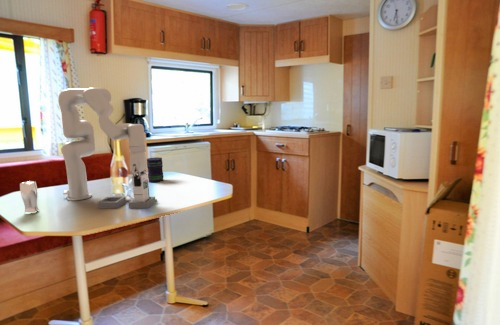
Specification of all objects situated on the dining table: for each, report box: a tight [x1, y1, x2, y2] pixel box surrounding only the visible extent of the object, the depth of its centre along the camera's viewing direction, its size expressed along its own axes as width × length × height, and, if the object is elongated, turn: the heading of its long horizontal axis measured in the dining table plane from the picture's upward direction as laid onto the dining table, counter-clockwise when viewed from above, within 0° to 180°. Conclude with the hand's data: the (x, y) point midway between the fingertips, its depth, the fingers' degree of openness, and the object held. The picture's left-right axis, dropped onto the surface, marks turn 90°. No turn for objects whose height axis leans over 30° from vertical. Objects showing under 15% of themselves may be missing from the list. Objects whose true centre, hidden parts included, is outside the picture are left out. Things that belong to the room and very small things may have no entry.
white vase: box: [19, 180, 40, 213], centre depth 172 cm, size 7×7×15 cm
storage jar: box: [146, 157, 164, 184], centre depth 232 cm, size 10×10×15 cm
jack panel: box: [97, 196, 158, 209], centre depth 182 cm, size 26×12×3 cm, turn 85°
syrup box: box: [131, 173, 151, 202], centre depth 179 cm, size 6×6×14 cm
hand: (140, 184), depth 178 cm, fingers closed on syrup box, 6 cm apart
